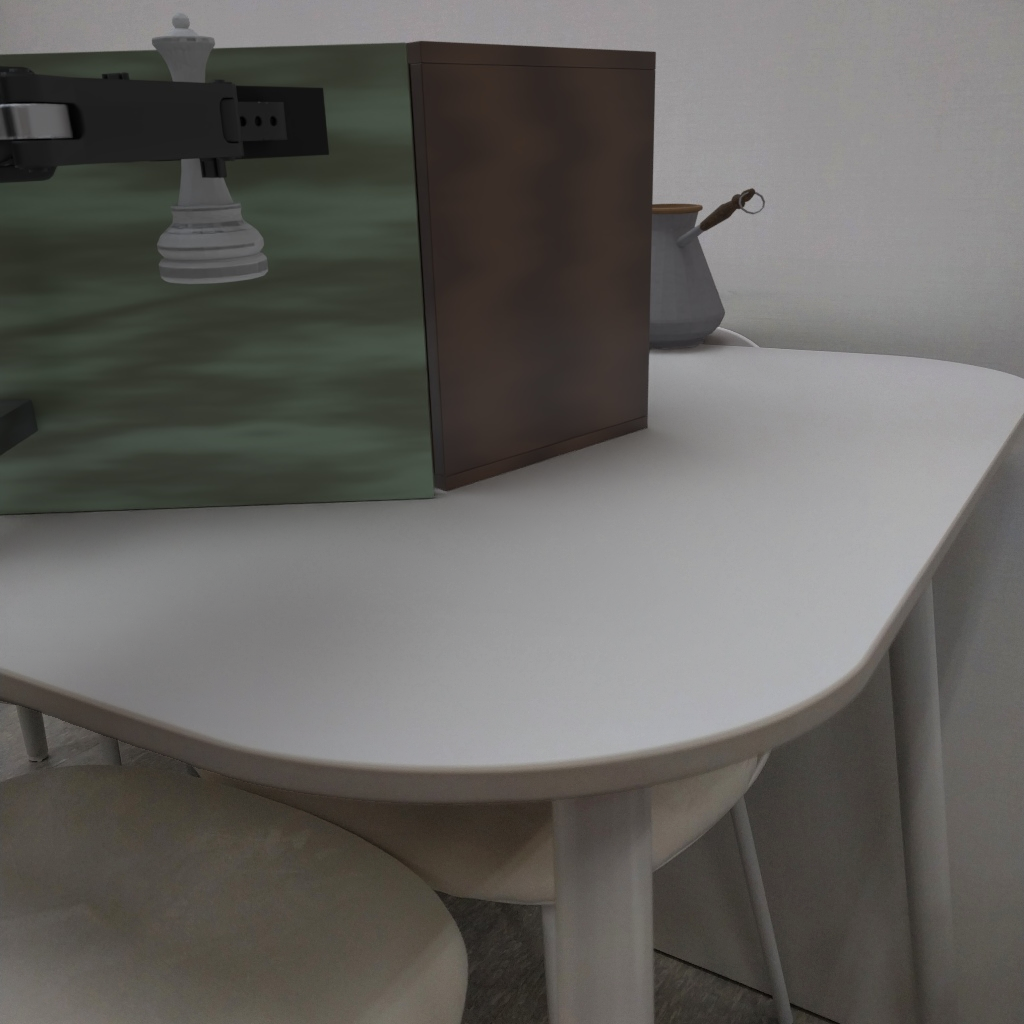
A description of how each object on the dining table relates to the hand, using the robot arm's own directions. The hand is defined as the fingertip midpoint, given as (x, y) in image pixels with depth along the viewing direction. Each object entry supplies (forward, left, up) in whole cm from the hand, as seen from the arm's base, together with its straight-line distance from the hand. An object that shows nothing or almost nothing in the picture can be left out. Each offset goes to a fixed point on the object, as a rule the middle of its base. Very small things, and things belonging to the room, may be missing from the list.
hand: (293, 122), depth 43 cm
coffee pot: (-32, +40, -20) cm, 55 cm away
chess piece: (+3, -5, -6) cm, 8 cm away
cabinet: (-20, +11, -20) cm, 31 cm away
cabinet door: (-5, -7, -20) cm, 22 cm away
